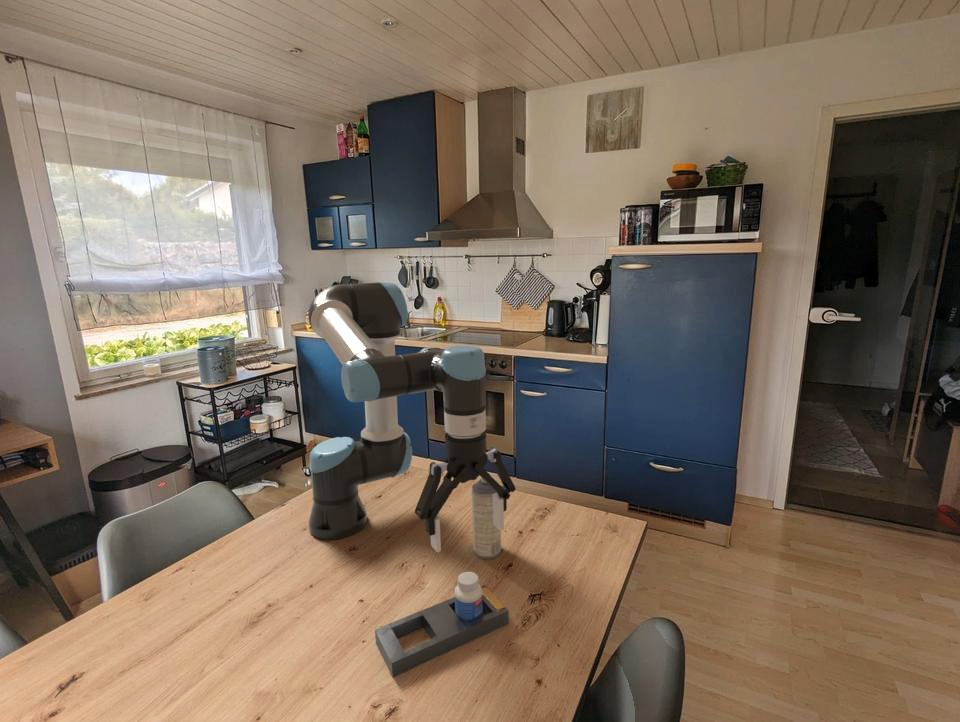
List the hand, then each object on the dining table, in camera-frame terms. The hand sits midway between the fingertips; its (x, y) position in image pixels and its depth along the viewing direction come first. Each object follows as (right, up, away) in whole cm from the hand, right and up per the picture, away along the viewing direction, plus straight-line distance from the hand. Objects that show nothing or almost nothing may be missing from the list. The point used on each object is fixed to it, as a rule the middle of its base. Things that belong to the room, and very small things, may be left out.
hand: (468, 537), depth 93 cm
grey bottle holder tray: (-5, -19, +1) cm, 19 cm away
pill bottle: (0, -18, +4) cm, 19 cm away
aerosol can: (+4, -13, +27) cm, 30 cm away
